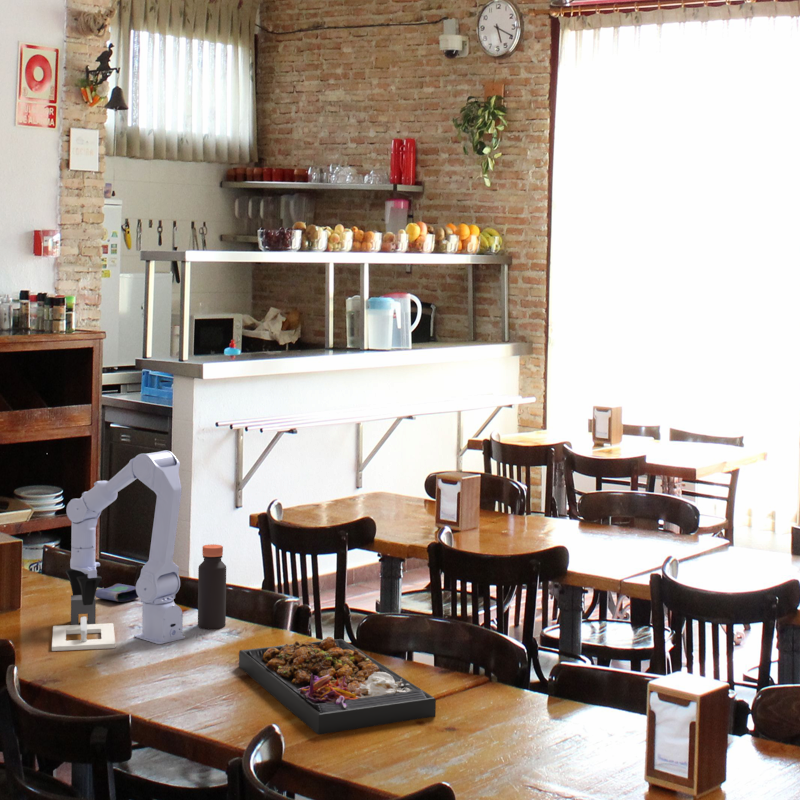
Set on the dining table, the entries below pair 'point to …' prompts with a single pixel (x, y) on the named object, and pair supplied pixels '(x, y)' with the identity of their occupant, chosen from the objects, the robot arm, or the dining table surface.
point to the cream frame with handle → (83, 636)
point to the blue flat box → (117, 593)
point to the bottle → (212, 589)
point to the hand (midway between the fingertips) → (83, 601)
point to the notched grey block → (82, 610)
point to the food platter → (335, 685)
